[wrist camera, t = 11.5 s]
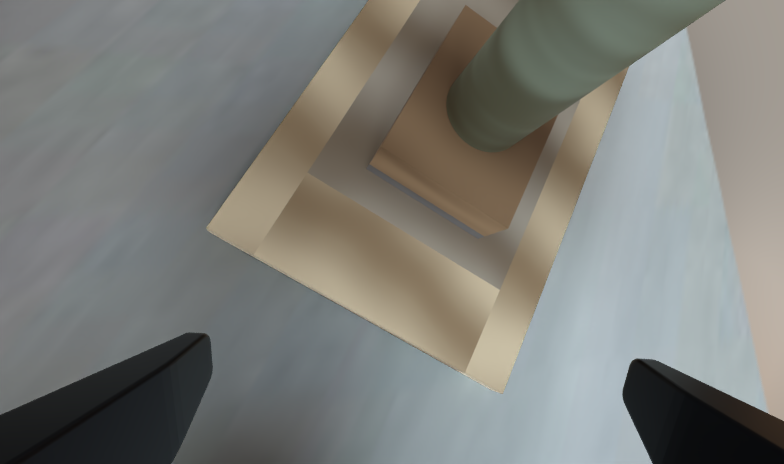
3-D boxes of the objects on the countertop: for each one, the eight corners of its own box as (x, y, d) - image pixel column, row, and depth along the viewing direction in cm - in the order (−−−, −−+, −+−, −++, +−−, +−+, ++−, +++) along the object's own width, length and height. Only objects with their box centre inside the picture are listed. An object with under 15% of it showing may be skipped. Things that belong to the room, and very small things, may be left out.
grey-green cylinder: (477, 238, 18) (754, 145, 8) (366, 169, 17) (506, -46, 7) (537, 109, 20) (810, -98, 10) (442, 41, 19) (633, -264, 9)
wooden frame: (490, 389, 18) (502, 394, 17) (210, 232, 16) (206, 228, 15) (624, 51, 24) (638, 41, 23) (439, -92, 22) (446, -110, 21)
